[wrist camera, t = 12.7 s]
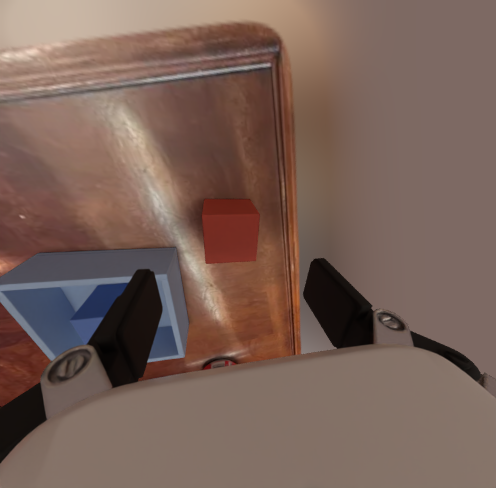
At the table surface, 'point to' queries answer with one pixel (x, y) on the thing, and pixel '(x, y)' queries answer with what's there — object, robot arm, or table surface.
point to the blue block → (95, 309)
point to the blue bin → (82, 285)
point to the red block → (230, 230)
